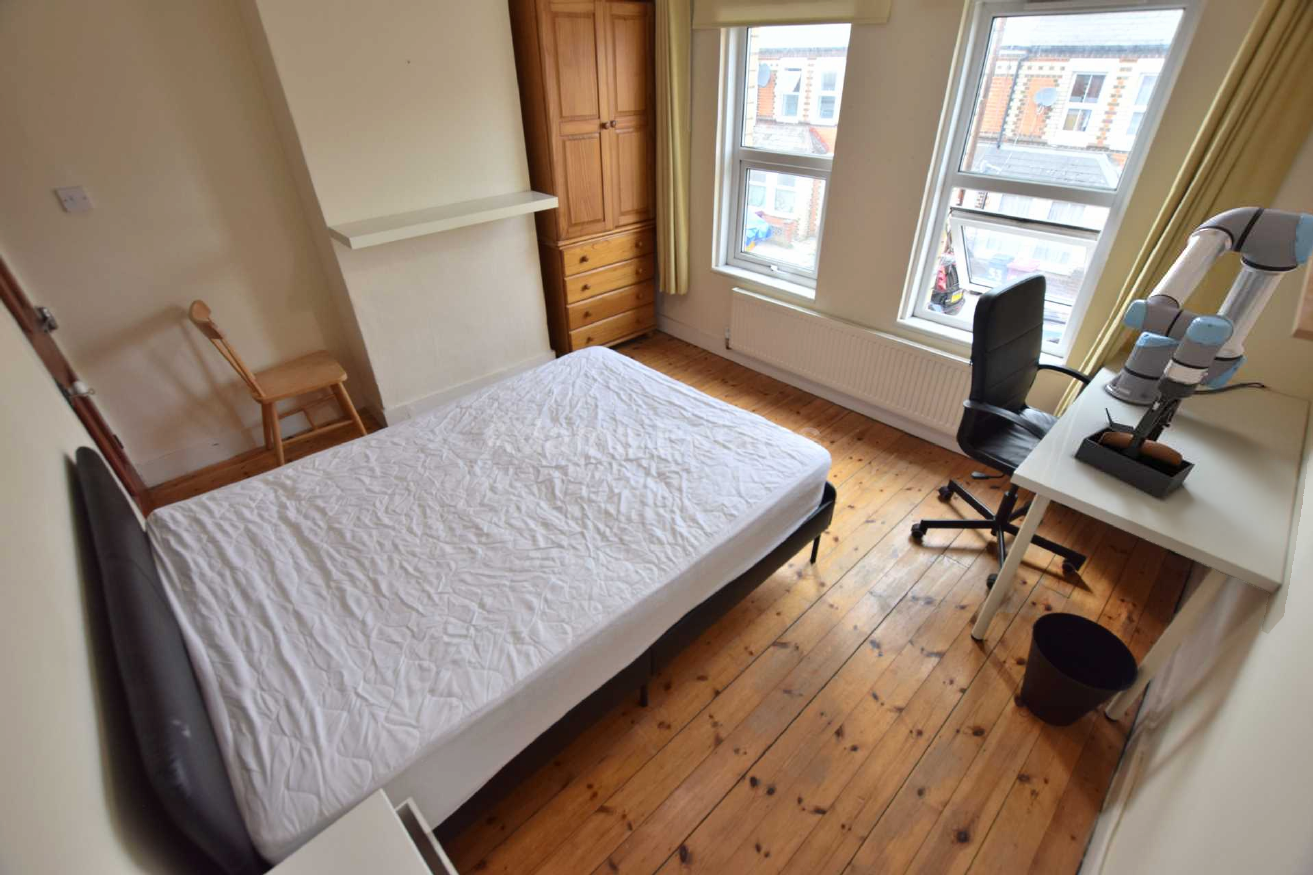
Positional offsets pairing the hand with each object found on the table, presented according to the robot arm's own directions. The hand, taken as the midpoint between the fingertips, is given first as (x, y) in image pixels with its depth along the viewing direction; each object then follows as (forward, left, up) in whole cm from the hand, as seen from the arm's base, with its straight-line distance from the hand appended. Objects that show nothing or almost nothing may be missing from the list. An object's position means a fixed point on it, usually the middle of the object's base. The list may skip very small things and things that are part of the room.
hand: (1138, 450), depth 159 cm
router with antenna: (-19, -11, -7) cm, 23 cm away
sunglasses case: (0, 0, 0) cm, 0 cm away
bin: (0, 0, -7) cm, 7 cm away
